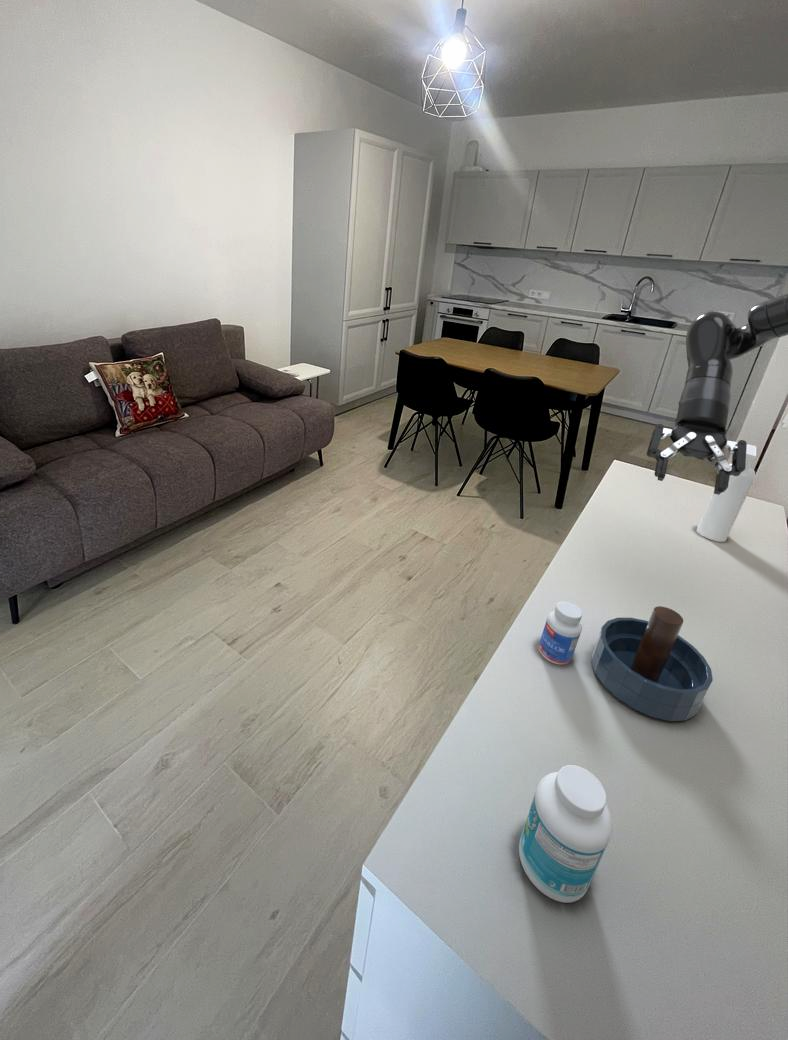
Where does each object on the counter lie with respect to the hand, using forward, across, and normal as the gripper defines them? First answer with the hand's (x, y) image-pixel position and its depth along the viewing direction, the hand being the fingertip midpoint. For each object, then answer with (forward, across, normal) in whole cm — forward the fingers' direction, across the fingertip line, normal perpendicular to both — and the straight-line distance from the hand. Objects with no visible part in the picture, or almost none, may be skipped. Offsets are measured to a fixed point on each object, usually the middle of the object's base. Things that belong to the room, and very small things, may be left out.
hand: (689, 485), depth 87 cm
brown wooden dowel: (+33, 0, +6) cm, 33 cm away
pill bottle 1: (+35, -14, +5) cm, 38 cm away
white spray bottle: (-13, +17, +53) cm, 57 cm away
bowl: (+34, 0, +6) cm, 34 cm away
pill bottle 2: (+59, -10, -19) cm, 63 cm away
